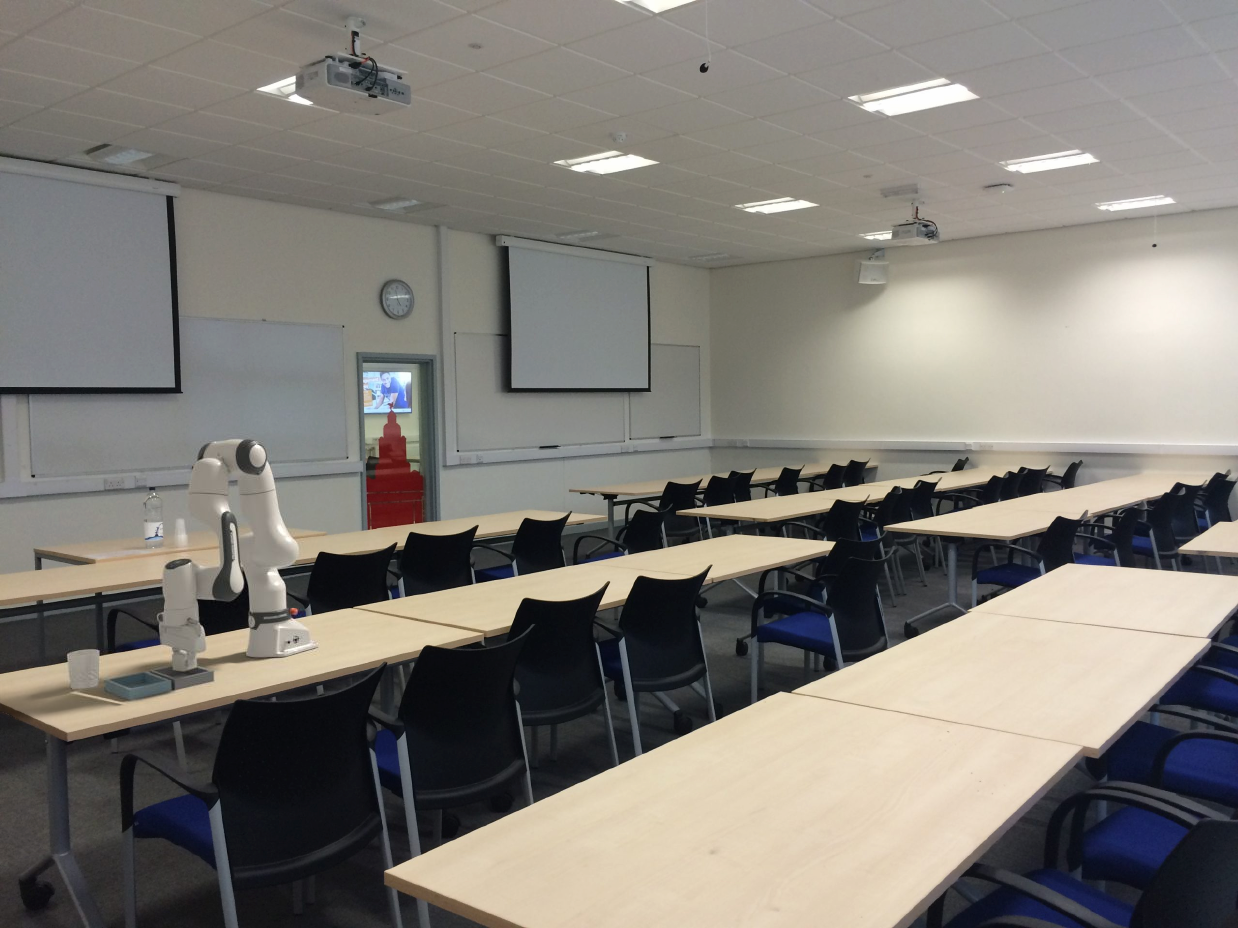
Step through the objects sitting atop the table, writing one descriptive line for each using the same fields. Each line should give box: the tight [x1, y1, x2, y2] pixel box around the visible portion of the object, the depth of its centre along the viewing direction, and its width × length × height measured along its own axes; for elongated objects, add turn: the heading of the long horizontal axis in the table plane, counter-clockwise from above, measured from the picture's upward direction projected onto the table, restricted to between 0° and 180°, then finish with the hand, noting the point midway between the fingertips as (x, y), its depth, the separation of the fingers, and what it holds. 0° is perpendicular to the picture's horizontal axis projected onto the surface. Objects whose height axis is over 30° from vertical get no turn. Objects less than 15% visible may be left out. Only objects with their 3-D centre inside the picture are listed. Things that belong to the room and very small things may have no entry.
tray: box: [148, 665, 215, 691], centre depth 262 cm, size 11×16×4 cm
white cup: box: [66, 648, 100, 690], centre depth 259 cm, size 8×8×10 cm
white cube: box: [171, 650, 198, 671], centre depth 262 cm, size 4×4×4 cm
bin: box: [104, 670, 173, 702], centre depth 253 cm, size 11×16×4 cm
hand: (184, 663), depth 262 cm, fingers closed on white cube, 5 cm apart
